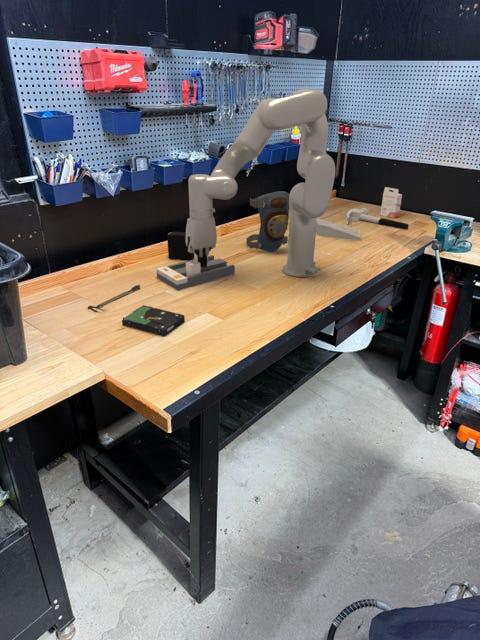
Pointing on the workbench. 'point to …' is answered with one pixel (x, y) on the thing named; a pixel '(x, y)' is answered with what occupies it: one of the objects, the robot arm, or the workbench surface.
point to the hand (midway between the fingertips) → (202, 266)
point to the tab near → (192, 268)
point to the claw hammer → (372, 218)
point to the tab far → (196, 257)
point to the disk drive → (153, 320)
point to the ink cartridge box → (391, 203)
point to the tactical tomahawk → (113, 299)
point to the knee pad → (271, 221)
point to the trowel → (336, 230)
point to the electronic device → (178, 247)
